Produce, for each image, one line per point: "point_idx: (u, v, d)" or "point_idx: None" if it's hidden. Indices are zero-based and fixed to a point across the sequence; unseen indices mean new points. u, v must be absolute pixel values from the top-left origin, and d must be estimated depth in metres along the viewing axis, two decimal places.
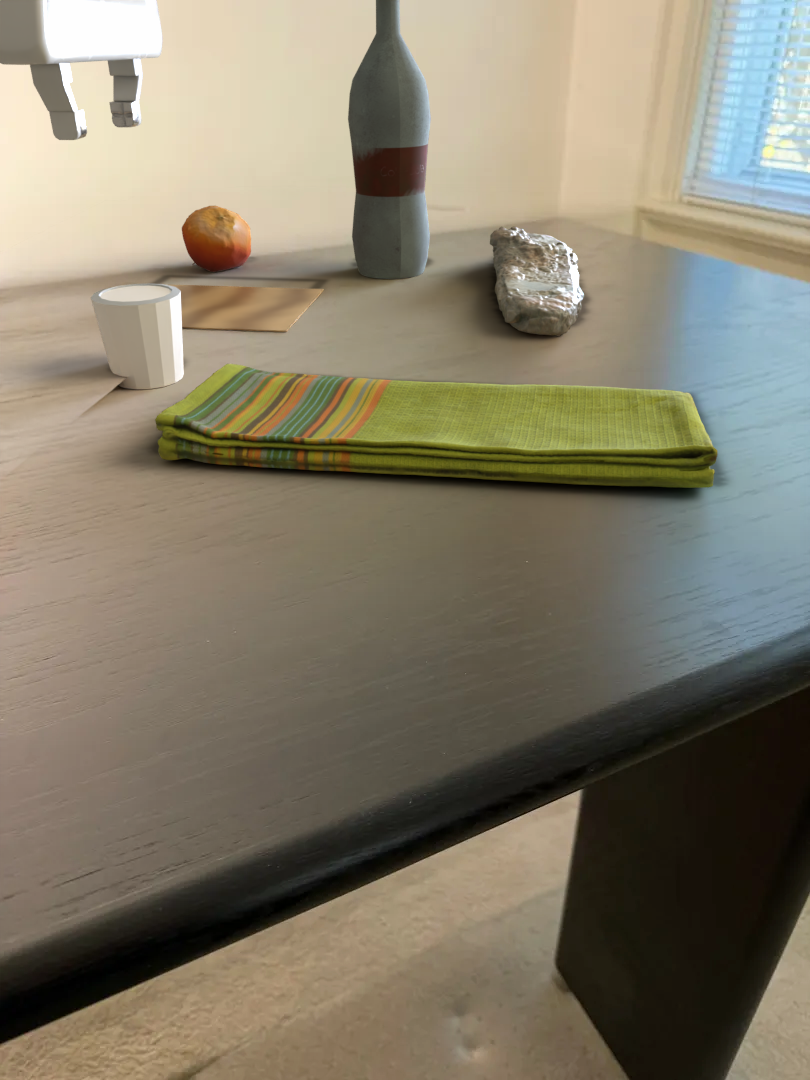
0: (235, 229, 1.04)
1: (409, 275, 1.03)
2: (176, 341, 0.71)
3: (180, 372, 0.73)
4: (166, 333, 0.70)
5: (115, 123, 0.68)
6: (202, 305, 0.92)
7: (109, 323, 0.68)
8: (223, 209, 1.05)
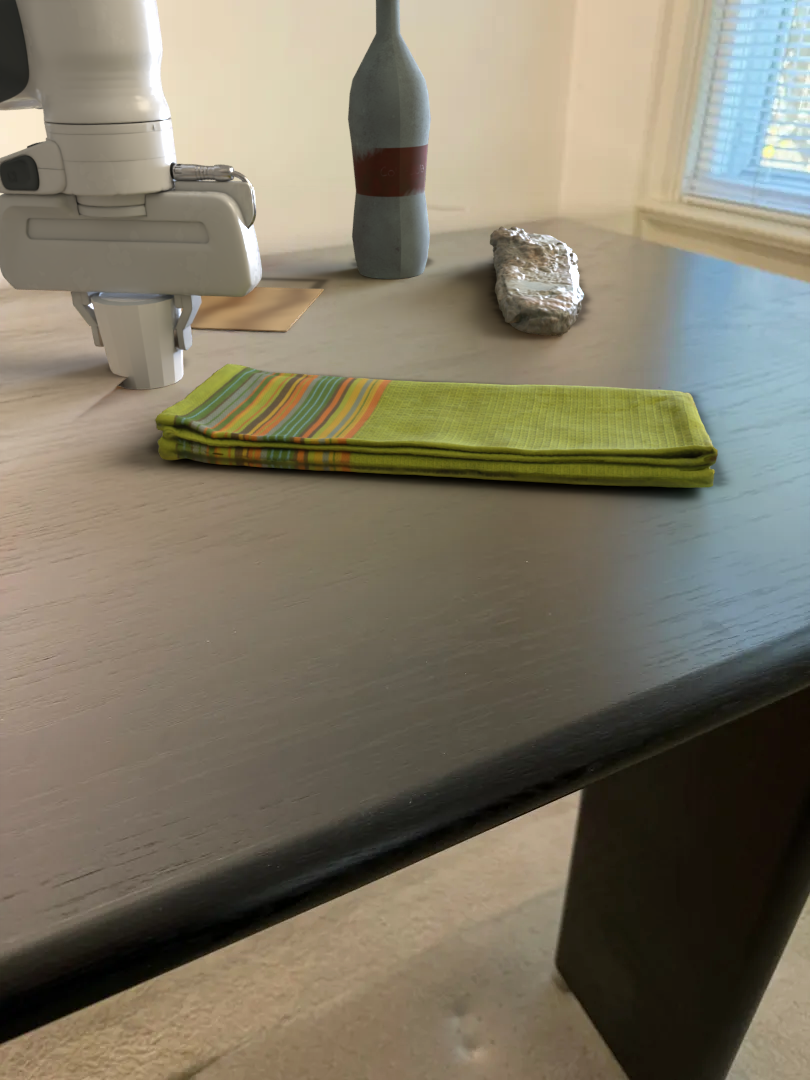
0: None
1: (409, 275, 1.03)
2: None
3: (180, 372, 0.73)
4: (166, 333, 0.70)
5: None
6: (202, 305, 0.92)
7: (109, 323, 0.68)
8: None
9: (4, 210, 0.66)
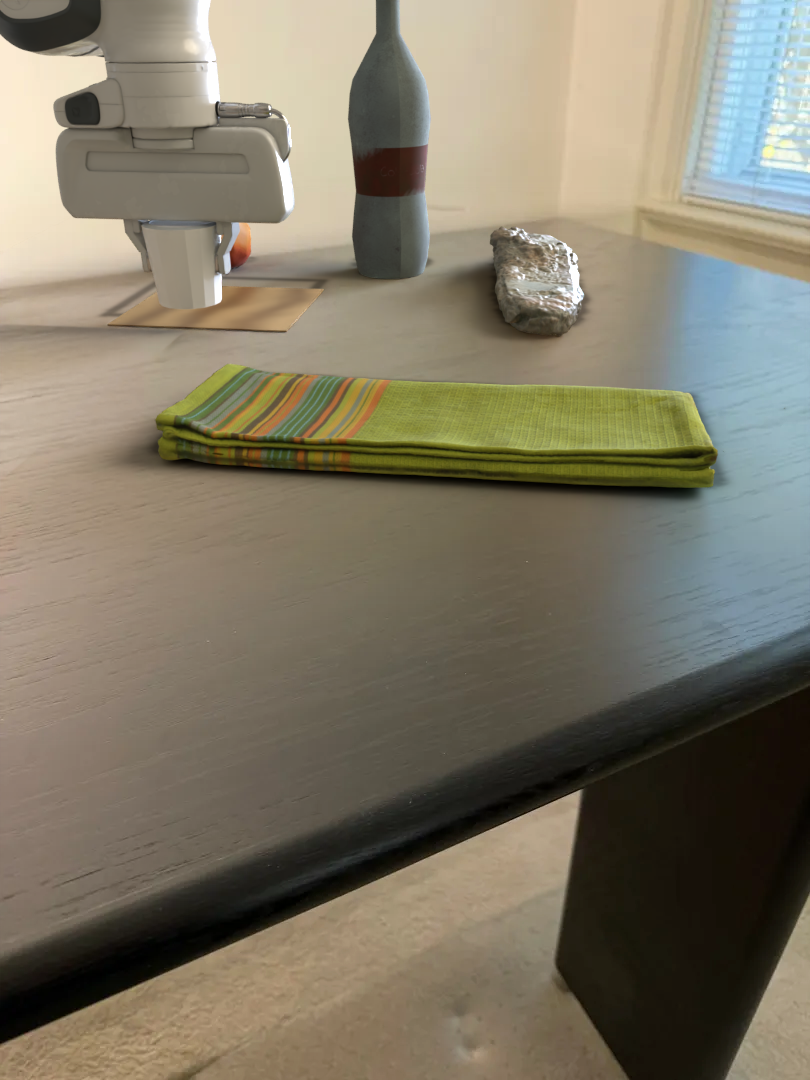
0: None
1: (409, 275, 1.03)
2: None
3: (219, 296, 0.81)
4: (208, 258, 0.78)
5: None
6: None
7: (158, 247, 0.76)
8: None
9: (67, 143, 0.74)
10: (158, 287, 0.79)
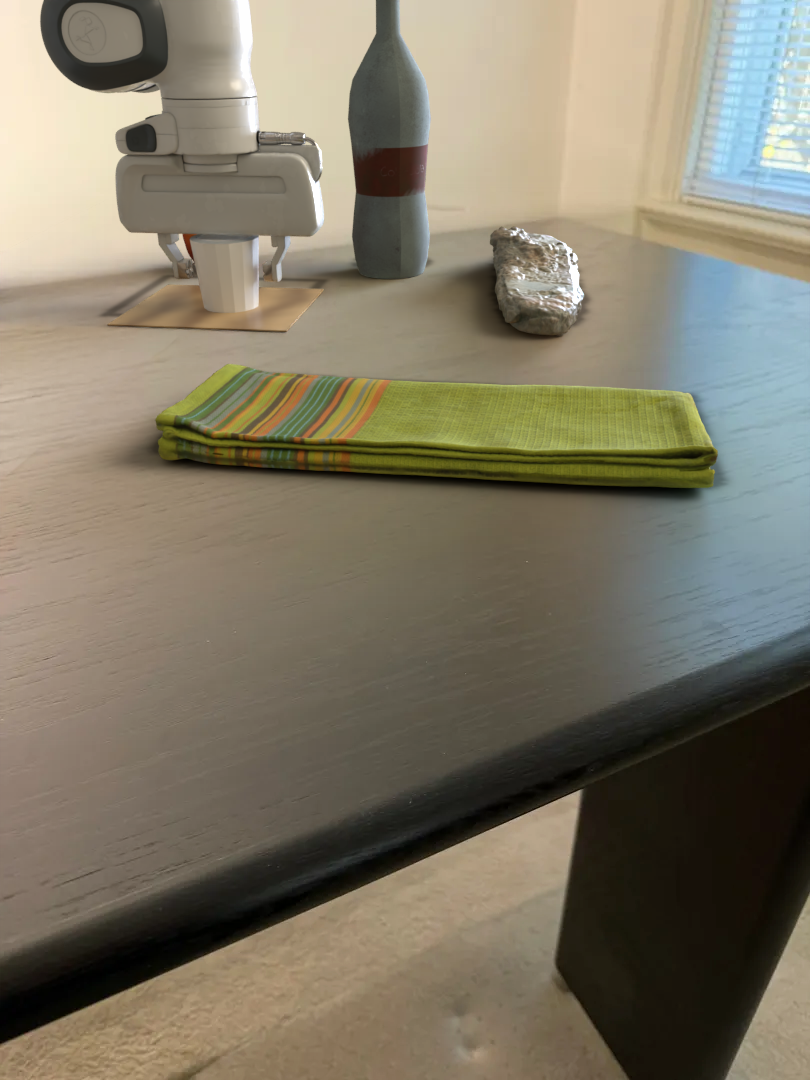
0: None
1: (409, 275, 1.03)
2: (255, 275, 0.90)
3: (257, 300, 0.91)
4: (248, 267, 0.88)
5: None
6: (202, 305, 0.92)
7: (205, 259, 0.87)
8: None
9: (126, 168, 0.84)
10: (204, 293, 0.90)
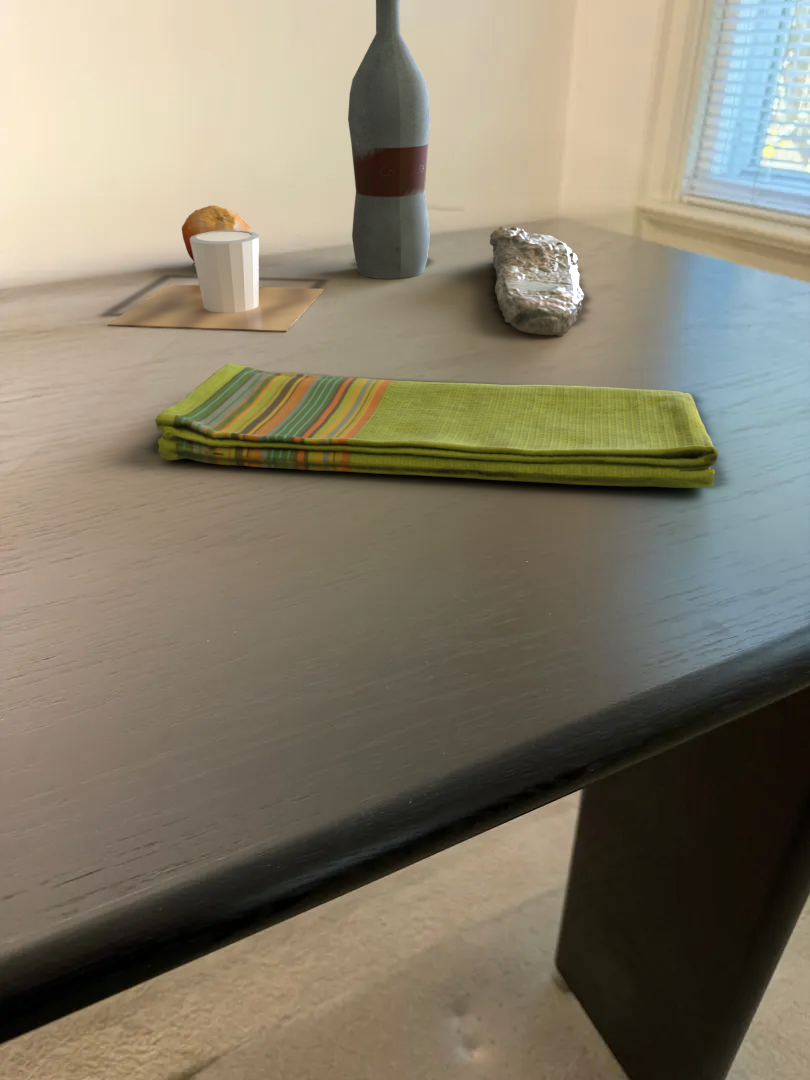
0: (235, 229, 1.04)
1: (409, 275, 1.03)
2: (255, 275, 0.90)
3: (257, 300, 0.91)
4: (248, 267, 0.88)
5: None
6: (202, 305, 0.92)
7: (205, 259, 0.87)
8: (223, 209, 1.05)
9: None
10: (204, 293, 0.90)
